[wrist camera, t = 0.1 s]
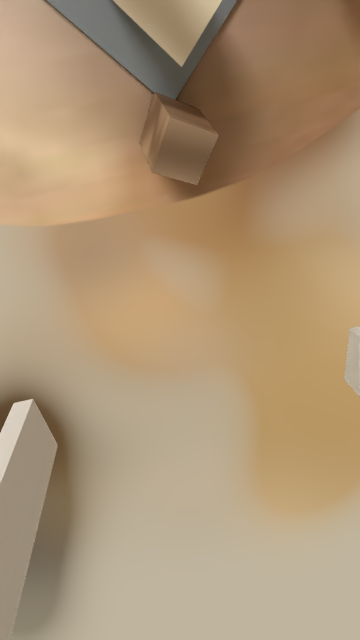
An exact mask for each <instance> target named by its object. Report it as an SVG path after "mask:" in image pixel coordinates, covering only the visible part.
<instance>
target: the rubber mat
mask: <svg viewBox="0 0 360 640" xmlns="http://www.w3.org/2000/svg"><path fill="white" fill-rule="evenodd" d="M47 1H48V2H49V3H50V4H51V5H52V6H54V7H55V8H56V9H57V10H58V11H59V12H61V13H62V14H63V15H64V16H65V17H66V18H68V19H69V20H70V21H71V22H72V23H73V24H75V25H76V26H77V27H78V28H79V29H80V30H82V31H83V32H84V33H85V34H86V35H87V36H89V37H90V38H91V39H92V40H93V41H94V42H95V43H97V44H98V45H99V46H100V47H101V48H102V49H104V50H105V51H106V52H107V53H108V54H109V55H111V56H112V57H113V58H114V59H115V60H116V61H118V62H119V63H120V64H121V65H122V66H123V67H125V68H126V69H127V70H128V71H129V72H130V73H132V74H133V75H134V76H135V77H136V78H137V79H139V80H140V81H141V82H142V83H143V84H144V85H145V86H147V87H148V88H149V89H150V90H151V91H152V92H157V93H159V94H162V95H164V96H167V97H169V98H172V99H174V100H175V99H176V98H177V96H178V94H179V93H180V91H181V90H182V88H183V86H184V85H185V83H186V82H187V80H188V78H189V77H190V75H191V74H192V72H193V70H194V69H195V67H196V66H197V64H198V62H199V61H200V59H201V58H202V56H203V54H204V53H205V51H206V50H207V48H208V46H209V45H210V43H211V42H212V40H213V38H214V37H215V35H216V34H217V32H218V30H219V29H220V27H221V26H222V24H223V22H224V21H225V19H226V18H227V16H228V14H229V13H230V11H231V10H232V8H233V6H234V5H235V3H236V2H237V0H222V1H221V3H220V4H219V6H218V8H217V9H216V11H215V13H214V14H213V16H212V18H211V19H210V21H209V23H208V24H207V26H206V28H205V29H204V31H203V33H202V34H201V36H200V38H199V39H198V41H197V43H196V44H195V46H194V47H193V49H192V51H191V52H190V54H189V56H188V57H187V59H186V61H185V62H184V64H183V66H182V67H181V66H180V65H179V64H178V63H177V62H176V61H175V60H174V59H173V58H172V57H171V56H170V55H169V54H168V53H167V52H166V51H165V50H164V49H163V48H161V47H160V46H159V45H158V44H157V43H156V42H155V41H154V40H153V39H152V38H151V37H150V36H149V35H148V34H147V33H146V32H145V31H144V30H143V29H142V28H141V27H140V26H139V25H138V24H137V23H136V22H135V21H134V20H133V19H132V18H131V17H130V16H129V15H127V14H126V13H125V12H124V11H123V10H122V9H121V8H120V7H119V6H118V5H117V4H116V3H115V2H114V1H113V0H47Z"/></svg>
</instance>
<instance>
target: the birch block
mask: <svg viewBox="0 0 360 640" xmlns="http://www.w3.org/2000/svg"><path fill="white" fill-rule="evenodd" d="M113 1H114V2H115V3H116V4H117V5H118V6H119V7H120V8H121V9H122V10H123V11H124V12H125V13H126V14H127V15H129V16H130V17H131V18H132V19H133V20H134V21H135V22H136V23H137V24H138V25H139V26H140V27H141V28H142V29H143V30H144V31H145V32H146V33H147V34H148V35H149V36H150V37H151V38H152V39H153V40H154V41H155V42H156V43H157V44H158V45H159V46H160V47H161V48H163V49H164V50H165V51H166V52H167V53H168V54H169V55H170V56H171V57H172V58H173V59H174V60H175V61H176V62H177V63H178V64H179V65H180V66H181V67H182V66H183V64H184V62H185V61H186V59H187V57H188V56H189V54H190V52H191V51H192V49H193V47H194V46H195V44H196V43H197V41H198V39H199V38H200V36H201V34H202V33H203V31H204V29H205V28H206V26H207V24H208V23H209V21H210V19H211V18H212V16H213V14H214V13H215V11H216V9H217V8H218V6H219V4H220V3H221V1H222V0H113Z"/></svg>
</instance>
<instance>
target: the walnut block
mask: <svg viewBox="0 0 360 640" xmlns="http://www.w3.org/2000/svg"><path fill="white" fill-rule="evenodd" d="M218 137H219V134H218V133H217V132H216V131H215V129H214V128H213V127H212V126H211V124H210V123H209V122H208V121H207V119H206V118H205V117H204V116H203V114H202V113H201V112H200V110H199V109H197V108H194V107H192V106H189V105H187V104H184V103H182V102H179V101H177V100H174V99H172V98H169V97H167V96H164V95H162V94H159V93H157V92H154V95H153V98H152V102H151V105H150V109H149V112H148V116H147V119H146V123H145V126H144V130H143V133H142V137H141V140H140V145H141V148H142V150H143V152H144V155H145V157H146V160H147V162H148V164H149V167H150V169H151V172H152V173H155V174H159V175H162V176H166V177H169V178H173V179H176V180H180V181H184V182H187V183H191V184H194V185H198V182H199V180H200V178H201V176H202V173H203V171H204V169H205V166H206V164H207V162H208V160H209V157H210V155H211V153H212V151H213V148H214V146H215V144H216V141H217V139H218Z"/></svg>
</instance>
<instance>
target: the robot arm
mask: <svg viewBox="0 0 360 640" xmlns="http://www.w3.org/2000/svg"><path fill="white" fill-rule="evenodd" d="M344 379H345V381H346V382H347V383H348V384H349V385H350V386H351V388H352V389H353V390H354V391H355V392H356V393H357V394H358V395H359V396H360V326H358V327H354V328H350V330H349V340H348V350H347V359H346V369H345V378H344ZM57 446H58V445H57V443H56V441H55V439H54V437H53V436H52V434H51V432H50V430H49V428H48V426H47V424H46V422H45V420H44V419H43V417H42V415H41V413H40V411H39V409H38V407H37V405H36V404H35V402H34V400H33V399H30V400H26V401H22V402H17V403H14V404H13V406H12V409H11V411H10V413H9V415H8V417H7V420H6V422H5V424H4V426H3V428H2V431H1V433H0V640H10V639H11V635H12V630H13V626H14V622H15V618H16V614H17V610H18V606H19V601H20V597H21V593H22V589H23V585H24V581H25V577H26V573H27V569H28V565H29V561H30V556H31V552H32V548H33V544H34V540H35V536H36V532H37V528H38V523H39V519H40V516H41V511H42V507H43V503H44V499H45V495H46V491H47V487H48V482H49V478H50V474H51V470H52V466H53V462H54V458H55V454H56V449H57Z"/></svg>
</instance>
